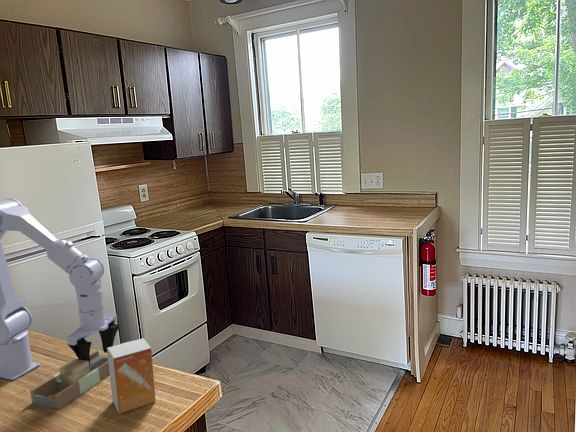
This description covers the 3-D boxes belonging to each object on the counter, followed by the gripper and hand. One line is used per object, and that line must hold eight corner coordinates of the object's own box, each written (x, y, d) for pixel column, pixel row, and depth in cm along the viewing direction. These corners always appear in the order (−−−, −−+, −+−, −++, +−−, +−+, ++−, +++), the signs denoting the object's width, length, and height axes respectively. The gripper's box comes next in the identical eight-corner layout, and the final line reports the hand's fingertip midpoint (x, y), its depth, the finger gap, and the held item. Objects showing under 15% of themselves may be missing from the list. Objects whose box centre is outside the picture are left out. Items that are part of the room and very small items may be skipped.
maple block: (60, 381, 104) (59, 367, 103) (76, 371, 108) (74, 358, 107) (75, 384, 102) (73, 370, 101) (90, 374, 106) (88, 361, 106)
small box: (118, 415, 93) (112, 358, 91) (112, 401, 98) (106, 347, 96) (156, 402, 97) (151, 347, 95) (148, 389, 103) (143, 337, 100)
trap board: (32, 403, 99) (30, 390, 98) (97, 361, 117) (95, 350, 116) (58, 409, 96) (57, 396, 95) (121, 366, 114) (120, 354, 113)
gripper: (80, 321, 101) (87, 376, 103) (124, 299, 114) (129, 348, 117) (57, 318, 103) (64, 371, 106) (103, 297, 117) (108, 344, 119)
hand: (97, 359), depth 111 cm, fingers open, 7 cm apart
